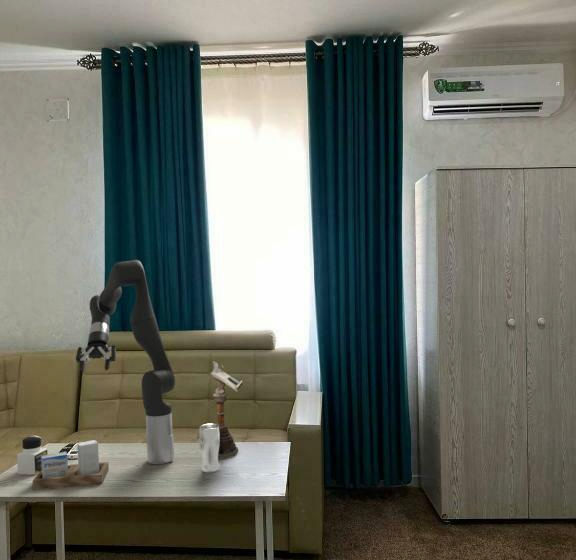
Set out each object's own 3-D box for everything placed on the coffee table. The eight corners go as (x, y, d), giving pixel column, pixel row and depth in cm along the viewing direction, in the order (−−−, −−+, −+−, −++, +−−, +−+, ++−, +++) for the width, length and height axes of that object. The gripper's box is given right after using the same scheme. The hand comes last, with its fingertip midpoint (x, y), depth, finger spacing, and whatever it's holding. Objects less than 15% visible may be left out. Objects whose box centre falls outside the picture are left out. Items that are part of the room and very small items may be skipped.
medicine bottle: (35, 475, 190) (34, 440, 189) (17, 474, 191) (15, 440, 191) (48, 467, 197) (47, 434, 196) (30, 467, 198) (29, 434, 198)
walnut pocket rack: (108, 470, 192) (108, 461, 192) (102, 483, 180) (101, 474, 180) (44, 475, 189) (43, 467, 189) (33, 489, 177) (32, 480, 177)
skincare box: (96, 474, 189) (95, 439, 188) (99, 477, 185) (98, 442, 185) (78, 478, 185) (76, 443, 185) (81, 482, 182) (79, 446, 182)
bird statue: (254, 447, 212) (250, 356, 211) (247, 458, 199) (243, 362, 198) (212, 446, 214) (208, 357, 213) (202, 458, 201) (199, 363, 200)
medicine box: (42, 485, 180) (41, 458, 180) (42, 480, 184) (40, 455, 183) (68, 480, 183) (67, 454, 183) (67, 475, 187) (66, 450, 187)
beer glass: (224, 467, 191) (223, 424, 191) (213, 474, 185) (212, 430, 184) (207, 464, 194) (206, 422, 194) (196, 471, 188) (194, 428, 187)
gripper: (78, 331, 214) (72, 365, 203) (116, 329, 216) (112, 363, 205) (81, 343, 219) (76, 377, 208) (118, 341, 221) (115, 374, 210)
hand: (94, 370), depth 207 cm, fingers open, 8 cm apart
